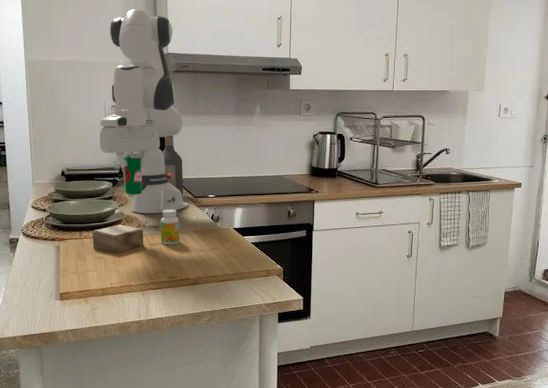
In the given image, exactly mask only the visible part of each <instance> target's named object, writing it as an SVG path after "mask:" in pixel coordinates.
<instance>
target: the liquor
mask: <svg viewBox="0 0 548 388" xmlns="http://www.w3.org/2000/svg"><path fill="white" fill-rule="evenodd" d="M164 140H165V141H164V142H165V143H164V145H165V146H164V150H163V151H162V152H163V154H164V163H165V173H166V174H168V173H169V174H172V176H173V178H172V179H170V178H169V179H168V181H169V183H170V184H171V185H173V186H174V187H175V188H177V189H178V190H179V191H180V192H181V194H182V196H183V195H184V185H183V183H184V182H183V181H184V180H183V179H184V178H183V159H182V157H181V155H180V154H179V153H178V152H177V151H176V150H175V147H174V146H175V145H174V135H173V136H168V137H164Z"/></svg>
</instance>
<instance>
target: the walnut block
mask: <svg viewBox="0 0 548 388" xmlns="http://www.w3.org/2000/svg"><path fill="white" fill-rule="evenodd" d="M92 244H93V248H94V247H96V248H95V249H98V248H99V250H103V251H106V252H110V251H111V253H114V252H115V254H117V252H118V253H120V251H121V252H124V250H125V251H128V250H131V249H130V248H132V249H134V247H135V248H138V247H137V246H139V247H141V246H140V245H143V246H144V230H143V229H142V228H139V227H134V226H129V225H123V224H117V225H113V226H108V227H105V228H104V227H103V228H99V229H95V230H94V231H92ZM127 249H128V250H127Z"/></svg>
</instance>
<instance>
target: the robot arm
mask: <svg viewBox="0 0 548 388" xmlns="http://www.w3.org/2000/svg"><path fill="white" fill-rule="evenodd" d="M109 37H110V39H111V41H112V43H113V44H114V45H115V47H118V48H120V51H121V52H122V53H121V54H123V55H124V56H125V58H127V59H129V60H130V64H119V65H118V66H115V68H114V75H113V76H114V77H113V84H112V85H111V97H112V98H111V99H112V101H113V103H115V105H114V113H113V114H111V115H108V116H106V117H104V118H102V119H100V126H101V127H102V128H101V129H100V132H99V147H100V150H101V151H102V153H105V154H113V153H115V155H116V158H117V159H118V161H119V165H120V168H124V167H128V161H125V159H124V157H125V154H126V153H125V152H127V153H128V152H132V154H140V157H141V170H142V193H141V194H137V195H134V199H133V206H132V209H131V211H132V212H134V213H138V214H163V210H169V209H172V210H176V211H178V210H181V209H186V208H188V207H189V203H187V202H185V201H183V195H182V194H181V192H180V191H179V190H178V189H177V188H175V187H174V186H173V185H171V184H170V183H169V181H168V179H169V178H170V179H172V178H173V176H172V174H169V173H168V174H166V173H165V163H164V154H163V152H164V151H162V150H161V149H160V146H161V143H160V141H161V140H160V138H165V137H168V136H173V137H174V136H177V135H178V134H179V133H180V132H182V130H183V126H184V119H183V116H182V114H181V113H180V112H179V110H178V109H176V108H175V107H173V105H174V104H175V101H176V100H175V99H176V91H175V90H176V89H175V87H174V84H173V82H172V79H171V75H170V71H169V68H168V63H167V58H166V56H165V55H166V54H165V52H164V48H166V47H168V46H169V44H170V43H171V40H172V38H173V28H172V25H171V23H170V20H169V19H168V18H167V17H165V16H161V15H158V16H154V15H153V16H152V15H149V14H148V13H147V12H146V11H144V10H142V9H136V8H135V9H130V10H129V11H127V12H126V13H125V14H124V17H116V18H114V19H113V20H112V21H111V22H110V27H109Z"/></svg>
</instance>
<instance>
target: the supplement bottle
mask: <svg viewBox="0 0 548 388" xmlns="http://www.w3.org/2000/svg"><path fill="white" fill-rule="evenodd" d="M162 216H163V217H162V218H161V219H160V240H161V244H164V245H176V244H178V243H180V219H179V218H178V217H177V210H172V209H169V210H163V213H162Z"/></svg>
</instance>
